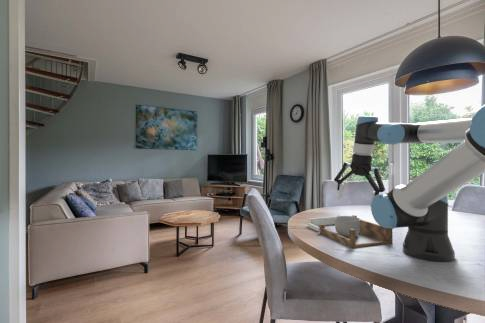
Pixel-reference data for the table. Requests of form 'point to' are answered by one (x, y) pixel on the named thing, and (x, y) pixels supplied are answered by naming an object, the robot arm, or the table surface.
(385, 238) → the wooden frame
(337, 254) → the table surface
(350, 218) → the teacup
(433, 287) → the table surface
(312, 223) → the holder
